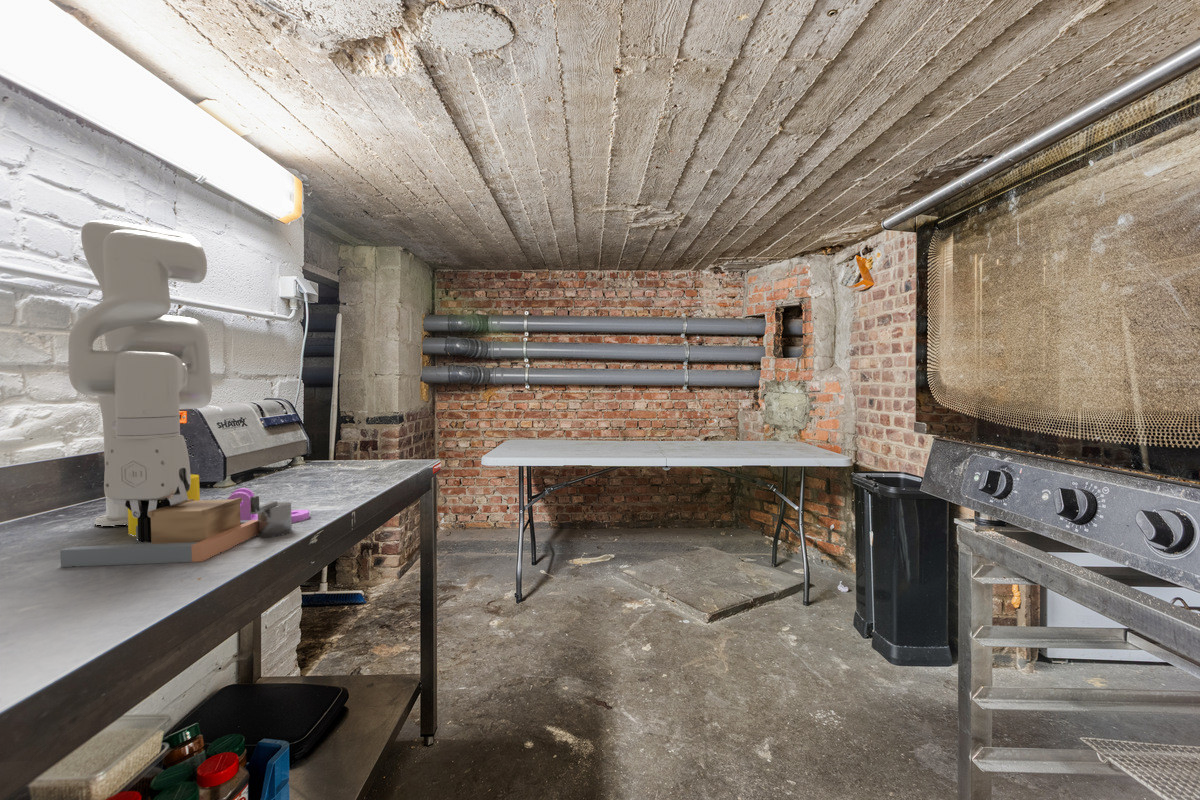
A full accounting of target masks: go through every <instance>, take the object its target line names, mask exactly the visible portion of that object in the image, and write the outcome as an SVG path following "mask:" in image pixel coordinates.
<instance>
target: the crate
mask: <svg viewBox="0 0 1200 800" xmlns="http://www.w3.org/2000/svg"><path fill="white" fill-rule="evenodd" d="M227 499H228V498H227ZM227 499H207V500H206V499H203V500H202V499H200V500H195V501H194V499H189V500H188V501H187V502H184V503H181V504H177V505H173V506H166V507H162V508H159V509H155V510H152V511H149V512H148V517H151V542H150V544H162V543H189V542H200V541H203V540H205V539H208V538H210V537H212V536H215V535H217V534H220V533H222V532H224V531H227V530H229V529H231V528H234V527H236V526H239V525H241V522H240V503H241V502H242V498H236V499H228V500H227Z"/></svg>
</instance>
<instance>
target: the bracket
mask: <svg viewBox="0 0 1200 800" xmlns="http://www.w3.org/2000/svg"><path fill="white" fill-rule="evenodd" d="M253 496H255V494H254V492H253V490H252V489H250V488H247V487H241V488H238V489H236V490H235V489H234V491H233V492H231V494H230V495H229V497H228V498H227V499H226V500H228V499H236V498H242V502H241V503H240V520H258V514H250V509H251V502H250V497H253ZM307 518H308V519H310V511H309V509H293V510H292V509H291V519H292V522H294V523H297V522H296V521H299V522H302V521H301V520H303V521H305V520H304V519H306V520H308V519H307Z"/></svg>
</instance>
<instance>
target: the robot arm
mask: <svg viewBox="0 0 1200 800" xmlns="http://www.w3.org/2000/svg"><path fill="white" fill-rule="evenodd" d="M80 235H81V236H80V237H81V246H82V249H83V253H84V256H85V260H86V262H87V264H88V266H89V269H91V271H92V274H93V276H94V278H95V279H96V281H97V283H98V284H99V286H100V290H101V293H102V294H101V295H102V301H101V302H99V303H97V304H96V305H94V306H92V307H91V308H89V309H88V310H86V312H84V313H83V314H82V315H81V316H80V317H79V318H77V320H76V321H75V323H74V324H73V326H72V328H71V330H70V332H69V336H68V345H67V346H68V349H67V350H68V377H69V382H70V384H71V386H72V387H73V389H74V390H75V391H76V392H78V393H80V394H82V395H84V396H85V395H86V396H89V397H90V396H92V397H97V398H98V403H99V407H100V413H101V417H102V418H101V419H102V429H103V448H104V449H103V452H104V453H103V455H104V476H103V477H104V480H103V491H104V495H105V513H106V514H103V515H99V516H98V517H95V518H94V525H95V524H96V525H95V526H97V525H101V526H100V527H103V526H111V525H124V524H128V509H130V510H131V511H132V515H133V517H134V518H138V540H137V542H139V543H151V517H148V512H149V511H152V510H155V509H159V508H162V507H166V506H173V505H177V504H181V503H184V502H187V501H188V497H187V493H186V492H188V491H189V489H190V484H191V474H192V473H191V466H190V463H191V462H190V456H189V452H188V447H187V443H186V439H185V437H184V435H182V434H181V422H180V420H181V418H180V410H195V409H202V408H204V407H206V406H208V404H210V402H211V399H212V394H213V384H212V372H211V359H210V358H211V357H210V346H209V338H208V333H207V330H206V328H205V325H204V324H203V323H202V322H200V320H198V319H195V318H192V317H188V316H187V317H186V316H179V315H178V316H177V315H168V313H169V311H170V310H171V303H172V302H171V296H170V286H169V281H172V282H174V281H175V282H182V283H189V284H191V283H192V284H198V283H202V282H203V281H204V280H205V278H206V276H207V272H208V271H207V270H208V261H207V256H206V253H205V250H204V248H203V246H202V245H201V243H200V241H198V240H197V239H196V238H195V237H194V236H192V235H191V234H188V233H187V234H186V233H182V232H178V231H172V230H167V229H161V228H155V227H149V226H145V225H139V224H135V223H134V224H133V223H129V222H123V221H122V222H121V221H117V220H116V221H115V220H105V219H104V220H102V219H100V220H98V219H97V220H90V221H88V222H85V224H84V225H83V226H82V228H81V232H80ZM103 335H104V340H105V347H106V348H107V350H97V349H96V350H95V349H93V347H94V342H95V341H96V340H97V339H98V338H100V337H101V336H103ZM172 495H173V497H172ZM171 497H172V498H171ZM160 501H161V502H160Z"/></svg>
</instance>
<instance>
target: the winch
mask: <svg viewBox="0 0 1200 800" xmlns="http://www.w3.org/2000/svg"><path fill="white" fill-rule="evenodd" d="M250 502H251V509H250V514H258V535H257V536H258V537H259V536H261V537H260V538H273V537H272V536H275V537H280V536H284V535H287V534H289V532H290V531H291V532H292V531H293V526H292V525H293V523H292V519H291V511H292V502H289V501H283V502H278V500H271V501H269V502H266V503H263V504H261V505H260V496H259V495H256V496H255V495H254V496H253V497H250ZM291 532H290V533H291ZM286 533H287V534H286ZM283 534H284V535H283ZM279 535H280V536H279Z"/></svg>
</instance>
